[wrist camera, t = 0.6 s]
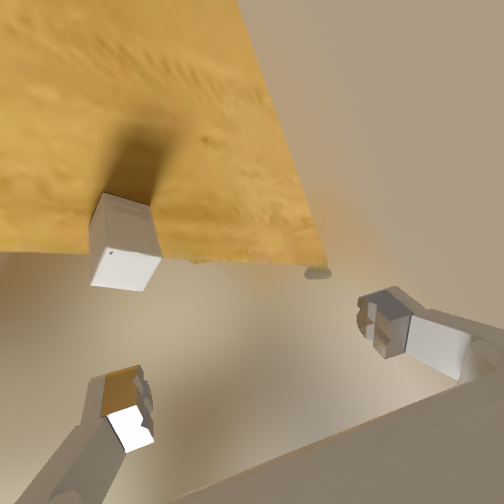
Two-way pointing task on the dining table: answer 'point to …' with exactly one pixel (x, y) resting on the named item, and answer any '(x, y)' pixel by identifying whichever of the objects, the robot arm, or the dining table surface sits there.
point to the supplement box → (122, 244)
